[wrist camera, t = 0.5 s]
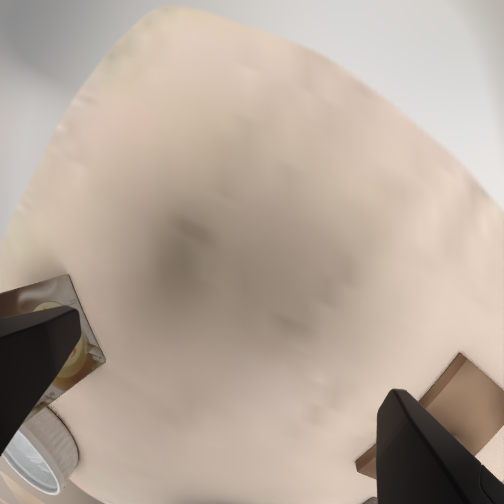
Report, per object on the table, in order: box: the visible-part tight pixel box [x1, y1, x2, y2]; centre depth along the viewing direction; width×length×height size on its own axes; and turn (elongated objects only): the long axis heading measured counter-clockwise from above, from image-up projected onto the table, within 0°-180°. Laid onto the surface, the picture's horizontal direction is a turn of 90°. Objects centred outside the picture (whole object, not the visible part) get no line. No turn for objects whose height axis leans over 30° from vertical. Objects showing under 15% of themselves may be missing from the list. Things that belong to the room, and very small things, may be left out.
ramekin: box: [2, 407, 78, 495], centre depth 25 cm, size 13×13×7 cm
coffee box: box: [0, 275, 106, 424], centre depth 18 cm, size 9×6×16 cm
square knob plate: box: [355, 353, 504, 480], centre depth 17 cm, size 14×12×8 cm
